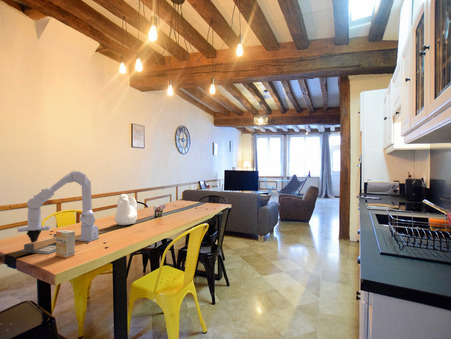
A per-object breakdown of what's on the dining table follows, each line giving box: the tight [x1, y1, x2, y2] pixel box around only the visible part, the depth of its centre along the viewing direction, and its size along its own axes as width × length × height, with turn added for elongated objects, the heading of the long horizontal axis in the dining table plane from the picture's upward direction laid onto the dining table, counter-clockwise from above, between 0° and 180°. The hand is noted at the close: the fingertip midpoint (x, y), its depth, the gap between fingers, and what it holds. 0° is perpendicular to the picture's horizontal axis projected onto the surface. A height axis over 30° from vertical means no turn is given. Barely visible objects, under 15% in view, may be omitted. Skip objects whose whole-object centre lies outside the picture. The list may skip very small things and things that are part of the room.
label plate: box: [21, 244, 56, 255], centre depth 134 cm, size 18×12×1 cm, turn 78°
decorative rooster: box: [114, 193, 139, 226], centre depth 197 cm, size 25×16×25 cm, turn 159°
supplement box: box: [55, 228, 76, 259], centre depth 125 cm, size 8×5×13 cm, turn 69°
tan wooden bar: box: [23, 233, 56, 251], centre depth 135 cm, size 18×4×5 cm, turn 168°
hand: (34, 243), depth 134 cm, fingers closed
